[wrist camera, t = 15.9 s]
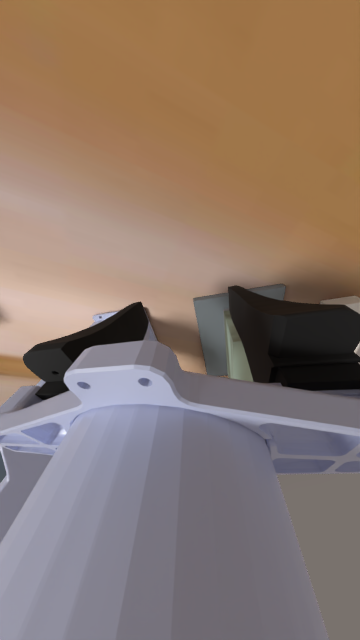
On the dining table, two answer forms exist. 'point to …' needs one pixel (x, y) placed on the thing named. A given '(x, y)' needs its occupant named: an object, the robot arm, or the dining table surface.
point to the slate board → (221, 325)
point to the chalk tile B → (345, 302)
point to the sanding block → (235, 351)
